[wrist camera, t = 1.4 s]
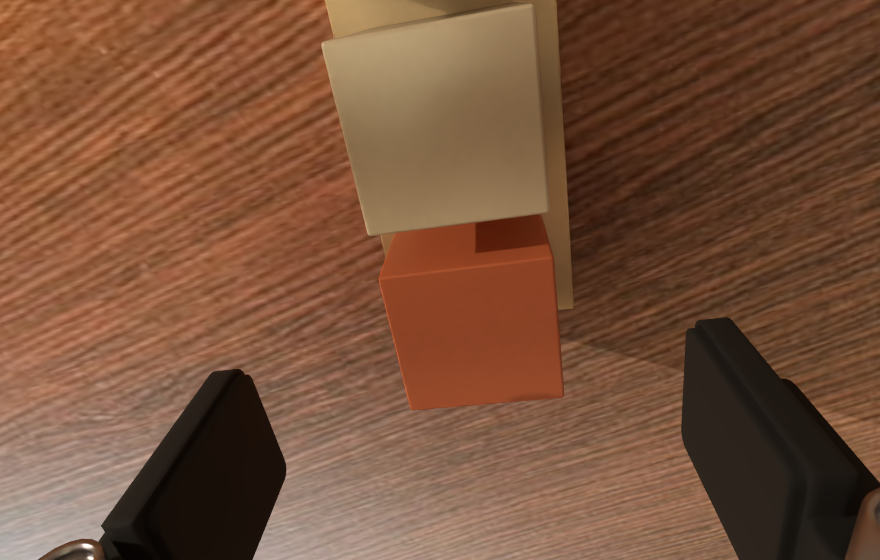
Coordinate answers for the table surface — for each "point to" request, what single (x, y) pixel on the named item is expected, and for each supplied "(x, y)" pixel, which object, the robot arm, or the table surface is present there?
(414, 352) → the terracotta cube
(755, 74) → the table surface
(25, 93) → the table surface
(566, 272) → the word board
